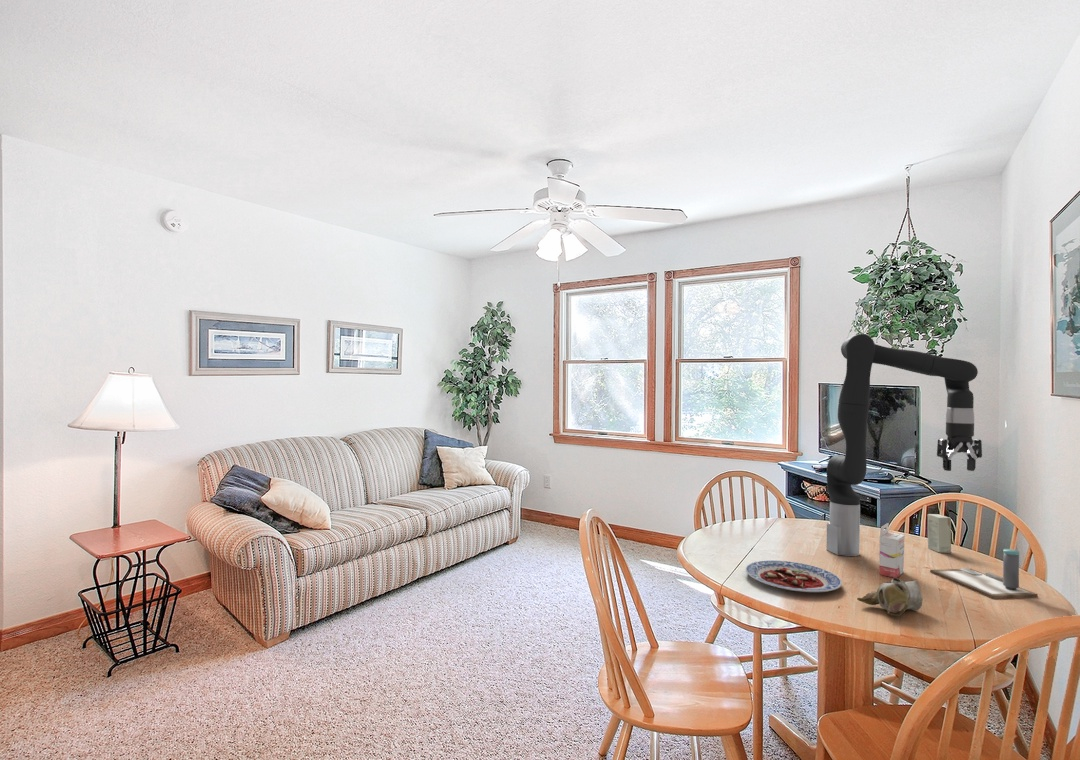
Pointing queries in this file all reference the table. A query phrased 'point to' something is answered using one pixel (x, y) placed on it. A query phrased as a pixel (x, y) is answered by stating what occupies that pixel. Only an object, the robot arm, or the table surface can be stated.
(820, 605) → the table surface
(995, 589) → the clipboard
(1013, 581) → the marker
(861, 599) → the ceramic sculpture
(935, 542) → the skincare box
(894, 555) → the ink cartridge box
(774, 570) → the ceramic plate
